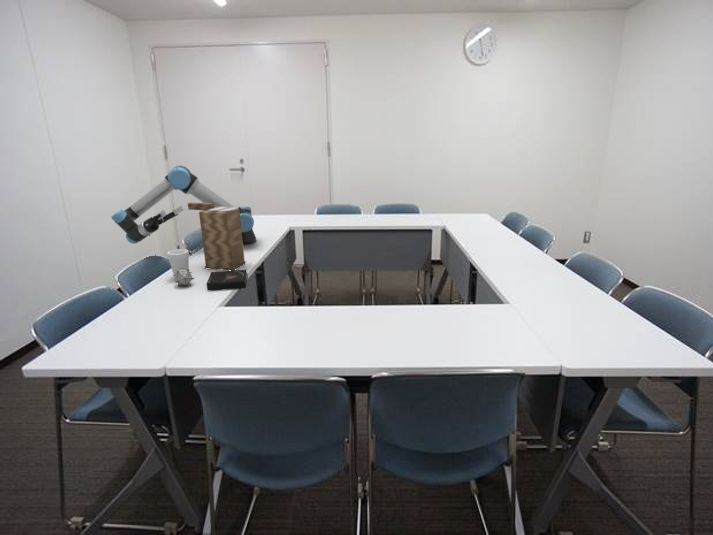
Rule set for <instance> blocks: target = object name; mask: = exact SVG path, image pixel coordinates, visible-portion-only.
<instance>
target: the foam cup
mask: <svg viewBox="0 0 713 535" xmlns="http://www.w3.org/2000/svg"><path fill="white" fill-rule="evenodd" d="M189 251H190V250H188V249H187V248H186V249H185V248H179V249H173V250H170V251H167V258H168V260H169V264H170V268H171V270H172V274H173V275H174V276H175V275H176V274H177V273H178V272H179V271H180V270H181V268H182V269H183V270H188V269H189V270H190V268H189V267H190V266H189V265H190V263H189V262H190V261H189V260H190V259H189V257H190V252H189ZM177 271H178V272H177ZM174 276H173V277H174Z"/></svg>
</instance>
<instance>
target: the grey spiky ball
mask: <svg viewBox="0 0 713 535" xmlns="http://www.w3.org/2000/svg"><path fill="white" fill-rule="evenodd" d="M177 272H178V271H177ZM172 277H174V279H175V283H176V284H177V286H180V285H182V286H185V287H186V288H187V285H189V284H190V282H191V281H192V280H195V278H194V277H193V275H192V271H191V272H190V268H189V269H188V270H183V269H182V268H181V270H180V271H179V272H178V273H177V274H176V275H175V276H174V274H173V275H172Z"/></svg>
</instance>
